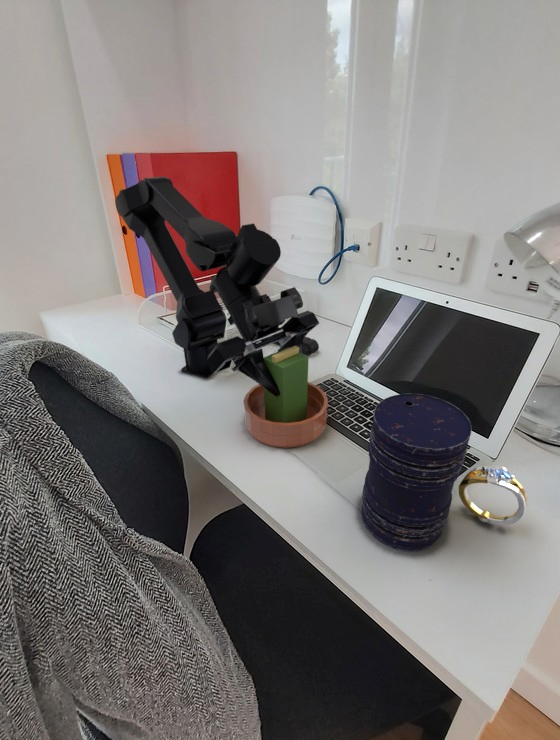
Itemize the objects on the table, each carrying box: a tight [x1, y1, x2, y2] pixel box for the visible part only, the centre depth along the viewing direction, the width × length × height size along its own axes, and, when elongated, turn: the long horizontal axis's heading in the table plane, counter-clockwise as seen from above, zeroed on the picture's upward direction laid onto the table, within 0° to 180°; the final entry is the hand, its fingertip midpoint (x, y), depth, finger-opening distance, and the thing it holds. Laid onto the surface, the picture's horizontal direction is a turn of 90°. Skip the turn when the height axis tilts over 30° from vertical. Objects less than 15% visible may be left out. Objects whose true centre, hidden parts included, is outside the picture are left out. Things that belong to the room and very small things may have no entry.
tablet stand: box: [268, 336, 320, 357], centre depth 92 cm, size 18×3×3 cm, turn 49°
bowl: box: [243, 381, 329, 449], centre depth 66 cm, size 13×13×4 cm
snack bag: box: [263, 346, 309, 423], centre depth 64 cm, size 4×5×12 cm
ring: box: [457, 464, 528, 526], centre depth 48 cm, size 7×3×8 cm, turn 47°
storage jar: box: [360, 393, 473, 552], centre depth 46 cm, size 10×10×15 cm
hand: (291, 388), depth 63 cm, fingers closed on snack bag, 5 cm apart
